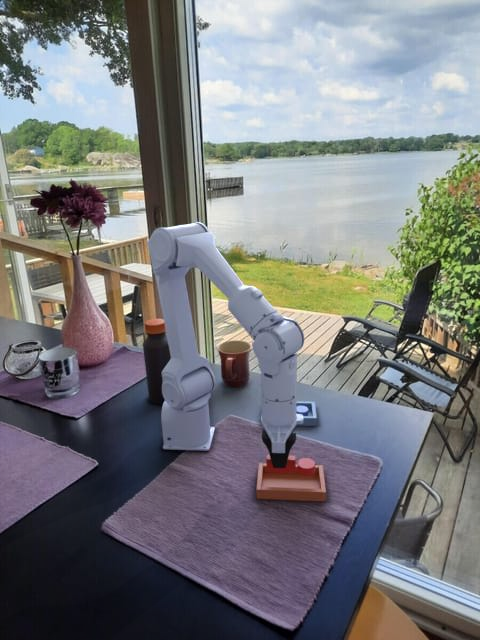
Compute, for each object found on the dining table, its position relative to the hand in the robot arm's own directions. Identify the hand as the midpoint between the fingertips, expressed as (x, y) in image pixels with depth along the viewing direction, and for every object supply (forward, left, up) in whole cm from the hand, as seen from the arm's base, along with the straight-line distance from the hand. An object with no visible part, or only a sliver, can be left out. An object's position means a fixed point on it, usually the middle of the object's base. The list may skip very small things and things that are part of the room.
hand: (279, 463), depth 76 cm
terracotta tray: (+2, 0, -5) cm, 5 cm away
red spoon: (+2, 0, -1) cm, 2 cm away
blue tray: (+2, +23, -5) cm, 23 cm away
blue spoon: (+2, +23, -4) cm, 23 cm away
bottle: (-29, +30, -5) cm, 42 cm away
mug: (-12, +37, -5) cm, 39 cm away
